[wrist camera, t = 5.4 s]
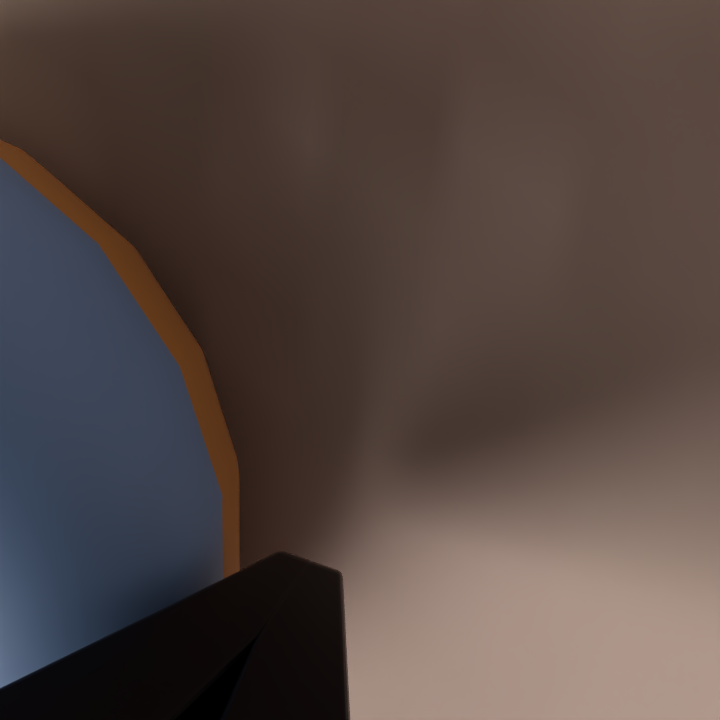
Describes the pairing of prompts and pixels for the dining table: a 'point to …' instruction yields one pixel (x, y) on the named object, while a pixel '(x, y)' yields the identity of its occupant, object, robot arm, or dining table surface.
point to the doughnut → (97, 433)
